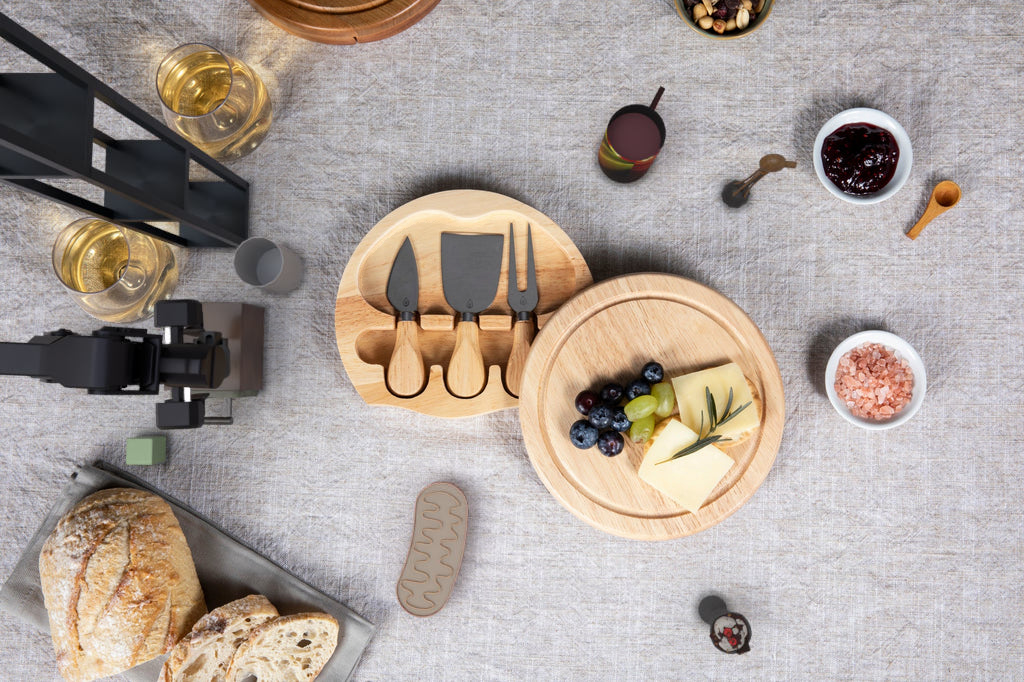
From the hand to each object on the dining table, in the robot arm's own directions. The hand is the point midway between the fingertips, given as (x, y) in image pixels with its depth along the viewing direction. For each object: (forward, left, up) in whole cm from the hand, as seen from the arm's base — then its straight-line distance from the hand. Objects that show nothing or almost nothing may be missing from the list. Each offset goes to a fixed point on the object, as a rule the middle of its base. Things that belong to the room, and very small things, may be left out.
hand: (206, 364), depth 105 cm
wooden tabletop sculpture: (+88, +31, -14) cm, 95 cm away
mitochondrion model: (+35, -31, -14) cm, 49 cm away
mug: (+68, +40, -14) cm, 80 cm away
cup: (+6, +17, -14) cm, 23 cm away
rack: (-6, +27, -14) cm, 31 cm away
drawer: (-3, -1, -13) cm, 14 cm away
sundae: (+83, -42, -14) cm, 94 cm away
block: (-16, -15, -14) cm, 26 cm away
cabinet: (-3, +3, -14) cm, 15 cm away
